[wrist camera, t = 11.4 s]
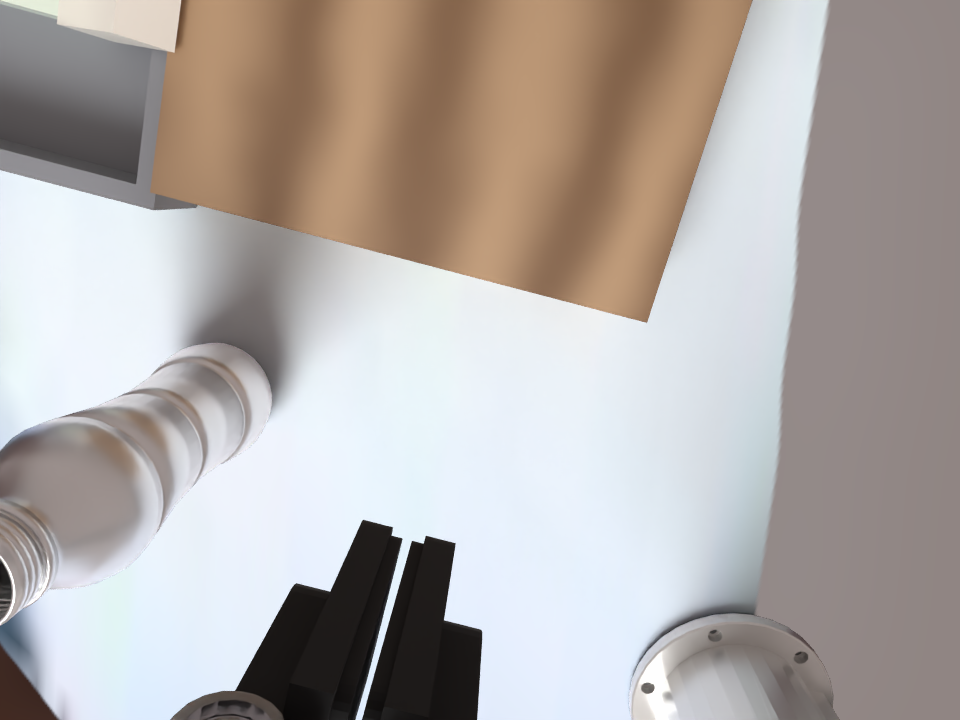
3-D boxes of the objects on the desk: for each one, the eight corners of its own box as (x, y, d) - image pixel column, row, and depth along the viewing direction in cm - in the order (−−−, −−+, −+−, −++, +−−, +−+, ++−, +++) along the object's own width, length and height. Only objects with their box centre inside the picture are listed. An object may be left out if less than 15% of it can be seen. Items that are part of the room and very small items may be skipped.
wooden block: (750, -94, 32) (803, -157, 26) (625, 302, 37) (646, 322, 31) (268, -227, 32) (213, -321, 26) (207, 192, 37) (150, 192, 31)
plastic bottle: (287, 344, 39) (64, 498, 19) (278, 451, 40) (63, 691, 21) (178, 325, 39) (-155, 461, 19) (173, 433, 40) (-138, 657, 21)
